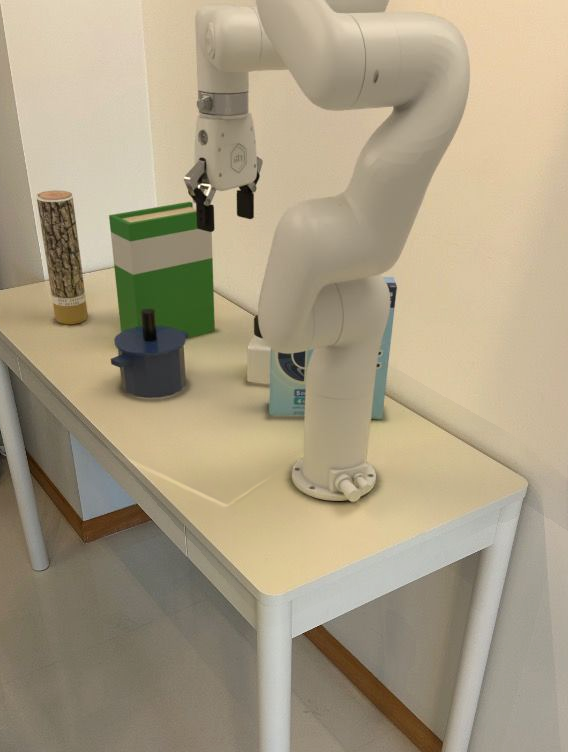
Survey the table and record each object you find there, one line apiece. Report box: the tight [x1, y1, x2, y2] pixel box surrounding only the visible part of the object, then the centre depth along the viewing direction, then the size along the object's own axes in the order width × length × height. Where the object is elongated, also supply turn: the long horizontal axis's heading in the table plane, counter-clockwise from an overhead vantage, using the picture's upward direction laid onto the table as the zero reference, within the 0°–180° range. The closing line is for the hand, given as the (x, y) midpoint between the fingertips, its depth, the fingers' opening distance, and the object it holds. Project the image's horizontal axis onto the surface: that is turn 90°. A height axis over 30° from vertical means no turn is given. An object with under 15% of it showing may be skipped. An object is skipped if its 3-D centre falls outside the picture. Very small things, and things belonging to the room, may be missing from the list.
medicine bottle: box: [246, 314, 271, 385], centre depth 145 cm, size 7×7×12 cm
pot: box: [110, 330, 190, 399], centre depth 143 cm, size 11×17×8 cm
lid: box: [113, 309, 187, 356], centre depth 139 cm, size 12×12×6 cm
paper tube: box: [36, 190, 89, 325], centre depth 163 cm, size 7×7×25 cm
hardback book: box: [108, 201, 216, 339], centre depth 157 cm, size 18×7×24 cm, turn 127°
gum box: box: [268, 276, 398, 420], centre depth 132 cm, size 20×5×23 cm, turn 90°
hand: (226, 223), depth 130 cm, fingers open, 9 cm apart
